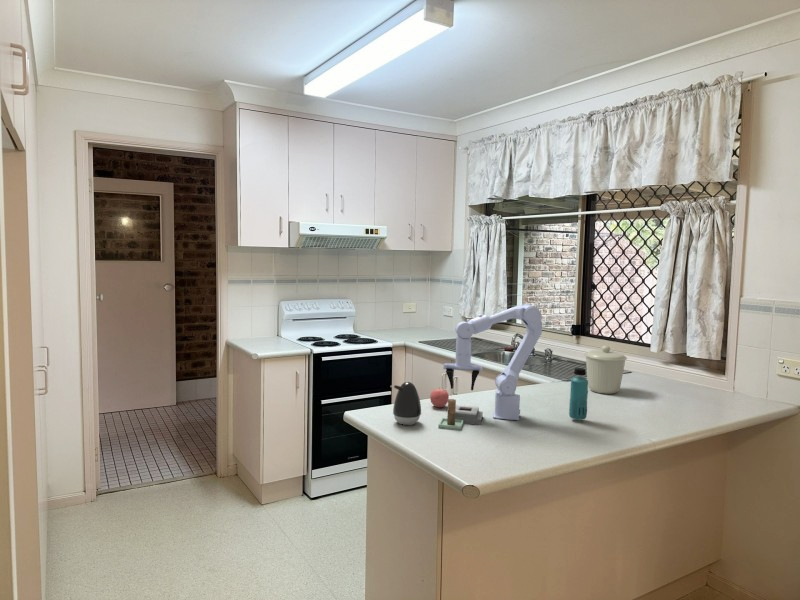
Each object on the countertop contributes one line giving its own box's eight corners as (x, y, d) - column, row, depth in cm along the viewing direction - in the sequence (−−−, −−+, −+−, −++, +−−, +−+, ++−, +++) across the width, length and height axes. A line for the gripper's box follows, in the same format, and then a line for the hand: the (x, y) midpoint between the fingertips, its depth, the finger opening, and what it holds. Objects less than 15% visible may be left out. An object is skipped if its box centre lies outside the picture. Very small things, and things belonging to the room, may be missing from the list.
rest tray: (463, 423, 205) (463, 420, 204) (460, 430, 197) (460, 426, 197) (441, 421, 206) (441, 418, 206) (438, 427, 199) (438, 424, 198)
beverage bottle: (577, 424, 206) (580, 371, 204) (564, 419, 212) (567, 367, 210) (590, 422, 209) (593, 369, 207) (577, 417, 215) (580, 366, 213)
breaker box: (482, 416, 213) (482, 406, 212) (480, 424, 203) (480, 414, 203) (451, 413, 216) (451, 403, 215) (447, 421, 206) (447, 411, 206)
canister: (628, 390, 258) (631, 345, 256) (620, 398, 243) (623, 351, 241) (588, 384, 268) (590, 340, 266) (578, 392, 253) (580, 346, 251)
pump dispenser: (388, 420, 206) (388, 379, 204) (413, 417, 210) (414, 377, 209) (398, 428, 197) (399, 386, 195) (425, 425, 201) (426, 384, 199)
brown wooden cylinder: (456, 424, 202) (457, 399, 201) (452, 426, 200) (453, 401, 199) (449, 422, 203) (450, 398, 203) (445, 424, 201) (446, 400, 200)
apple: (447, 410, 220) (447, 390, 220) (428, 408, 222) (429, 389, 221) (449, 405, 228) (449, 385, 227) (431, 403, 229) (431, 384, 228)
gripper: (483, 353, 214) (482, 387, 215) (445, 350, 217) (444, 384, 218) (481, 356, 207) (480, 392, 208) (443, 353, 210) (441, 389, 211)
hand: (462, 388), depth 213 cm, fingers open, 7 cm apart
